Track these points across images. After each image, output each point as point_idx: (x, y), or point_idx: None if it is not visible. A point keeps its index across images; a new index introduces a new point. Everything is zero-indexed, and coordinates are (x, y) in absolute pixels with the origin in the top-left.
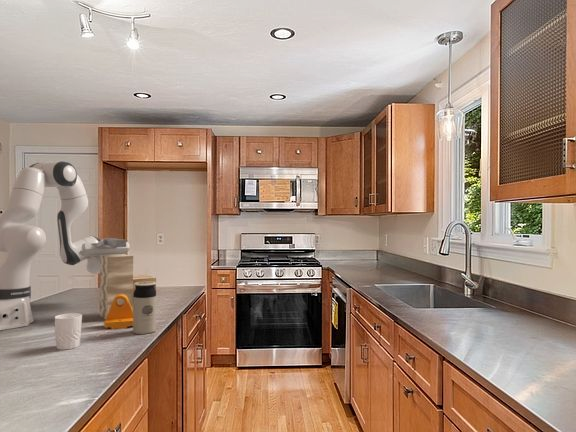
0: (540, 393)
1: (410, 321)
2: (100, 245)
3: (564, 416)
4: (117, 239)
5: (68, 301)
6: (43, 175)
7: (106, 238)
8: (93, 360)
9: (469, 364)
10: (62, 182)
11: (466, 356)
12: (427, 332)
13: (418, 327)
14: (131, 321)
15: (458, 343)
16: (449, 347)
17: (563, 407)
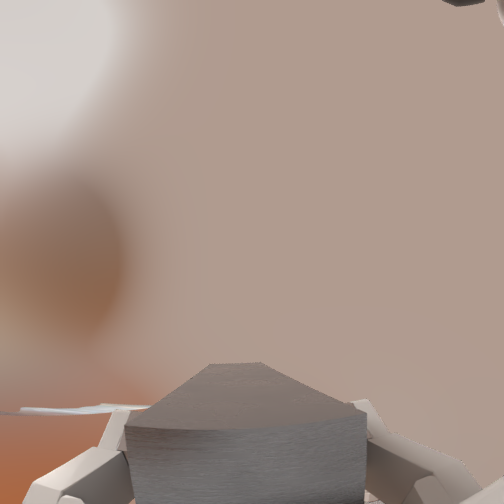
0: (130, 406)
1: (8, 414)
2: (385, 492)
3: (150, 405)
4: (237, 367)
5: None
6: (500, 14)
7: (294, 392)
8: None
9: (106, 412)
10: (463, 2)
11: (91, 412)
12: (42, 414)
13: (28, 415)
14: None
15: (64, 411)
16: (76, 413)
17: (141, 405)
